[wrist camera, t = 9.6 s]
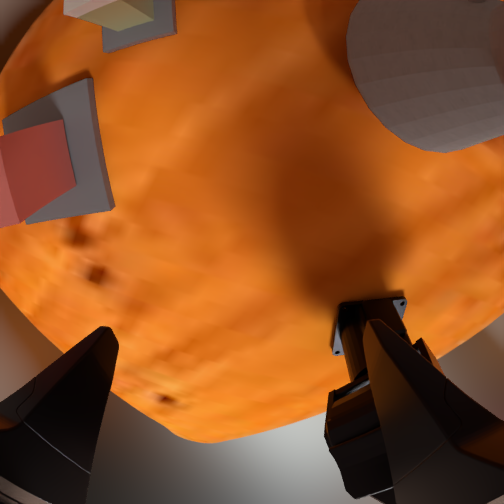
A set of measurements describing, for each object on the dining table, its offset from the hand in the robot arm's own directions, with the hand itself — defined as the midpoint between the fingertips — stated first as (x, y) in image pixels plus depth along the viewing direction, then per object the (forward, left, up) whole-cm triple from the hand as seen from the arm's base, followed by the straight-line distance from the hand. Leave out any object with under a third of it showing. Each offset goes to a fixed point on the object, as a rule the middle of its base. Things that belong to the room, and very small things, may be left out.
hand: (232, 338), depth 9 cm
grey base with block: (+15, +6, -12) cm, 20 cm away
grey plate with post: (+6, +15, -12) cm, 20 cm away
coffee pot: (+14, -9, -12) cm, 21 cm away
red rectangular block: (+6, +15, -11) cm, 20 cm away
